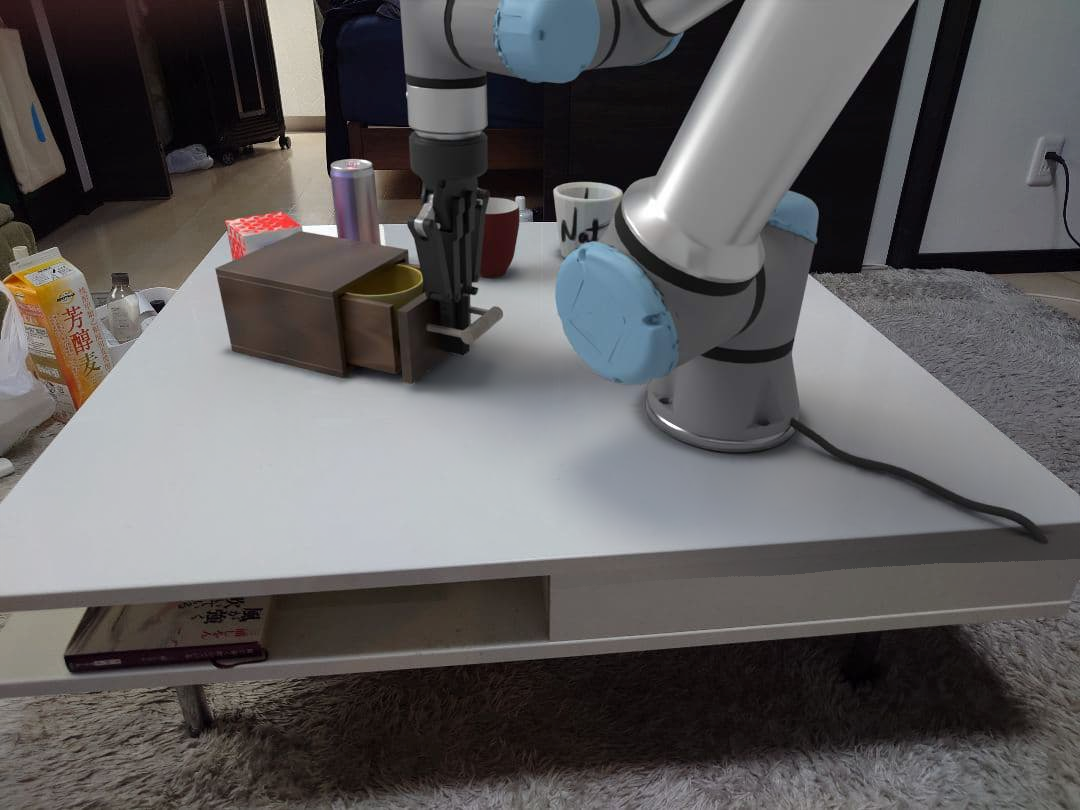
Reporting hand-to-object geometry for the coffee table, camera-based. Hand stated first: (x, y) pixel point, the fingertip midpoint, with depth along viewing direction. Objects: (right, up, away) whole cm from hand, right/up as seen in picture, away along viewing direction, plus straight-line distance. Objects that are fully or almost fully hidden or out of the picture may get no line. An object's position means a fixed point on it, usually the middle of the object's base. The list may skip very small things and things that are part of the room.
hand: (455, 350), depth 86 cm
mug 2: (+17, +18, +36) cm, 44 cm away
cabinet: (-16, +2, +7) cm, 18 cm away
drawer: (-5, 0, +2) cm, 6 cm away
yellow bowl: (-9, +2, +3) cm, 9 cm away
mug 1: (+2, +12, +26) cm, 29 cm away
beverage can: (-17, +14, +28) cm, 35 cm away
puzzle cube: (-29, +12, +24) cm, 39 cm away
